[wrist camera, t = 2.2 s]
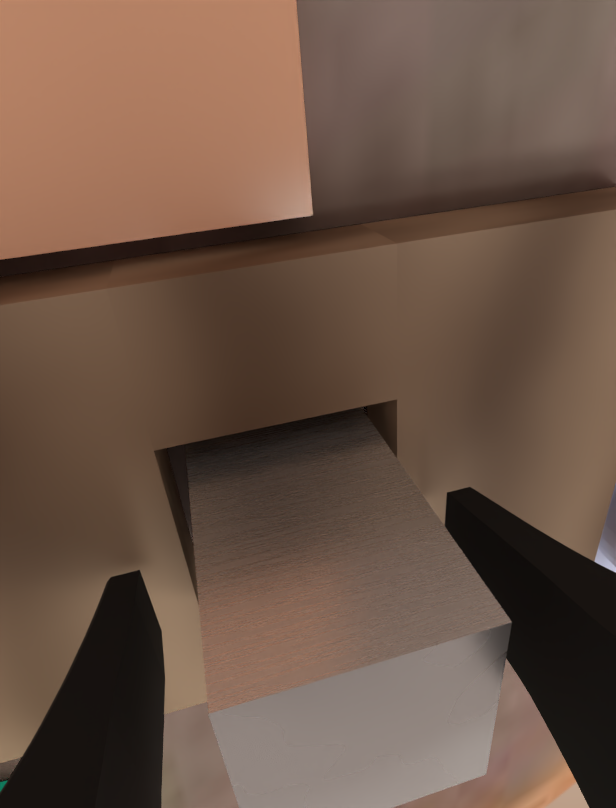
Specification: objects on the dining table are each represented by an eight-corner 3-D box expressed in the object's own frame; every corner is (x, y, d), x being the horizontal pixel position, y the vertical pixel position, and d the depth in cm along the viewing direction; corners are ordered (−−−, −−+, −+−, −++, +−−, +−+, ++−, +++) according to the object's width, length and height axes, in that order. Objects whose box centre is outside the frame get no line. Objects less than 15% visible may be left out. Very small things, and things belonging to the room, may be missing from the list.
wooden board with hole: (619, 186, 14) (693, 197, 12) (547, 544, 20) (587, 588, 18) (-262, 315, 10) (-356, 360, 8) (-4, 697, 17) (-24, 770, 15)
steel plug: (345, 384, 14) (512, 622, 8) (352, 507, 17) (486, 774, 10) (182, 417, 14) (207, 714, 7) (212, 541, 16) (255, 856, 9)
